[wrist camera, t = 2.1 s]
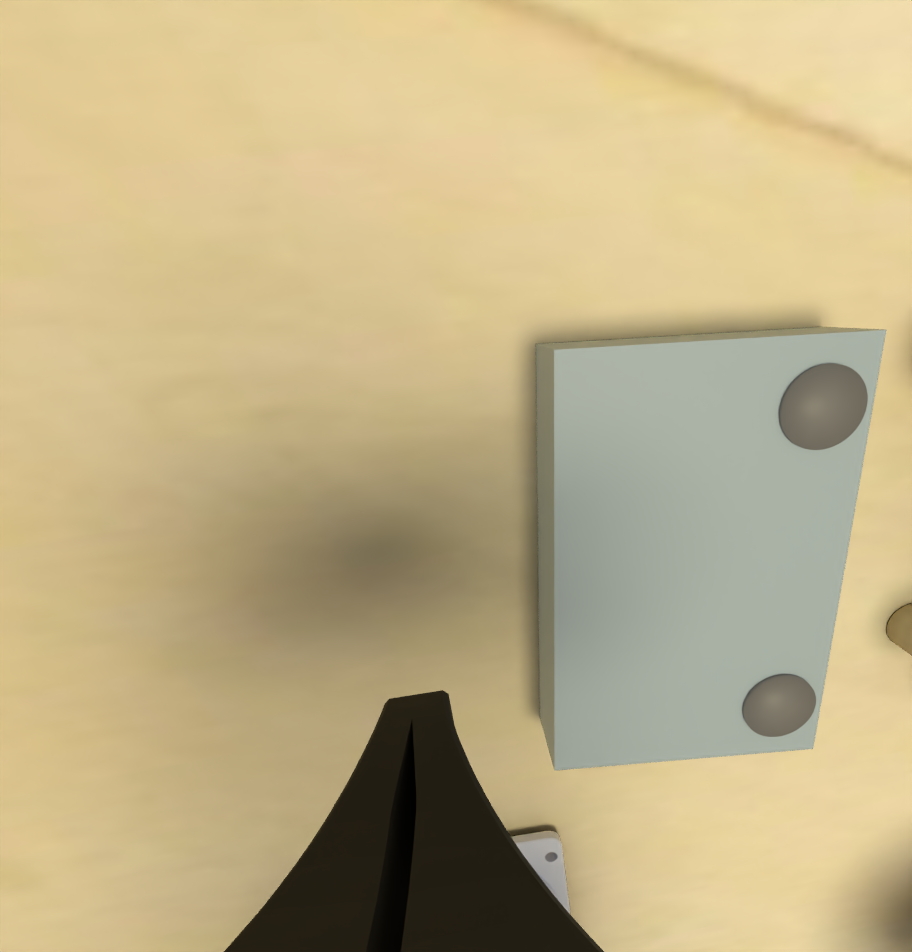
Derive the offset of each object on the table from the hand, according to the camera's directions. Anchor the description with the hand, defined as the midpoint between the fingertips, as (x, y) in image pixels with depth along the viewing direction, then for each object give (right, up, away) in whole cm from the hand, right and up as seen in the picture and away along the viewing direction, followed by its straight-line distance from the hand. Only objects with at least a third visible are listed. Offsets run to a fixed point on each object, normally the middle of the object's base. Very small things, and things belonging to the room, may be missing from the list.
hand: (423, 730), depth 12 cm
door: (+8, +4, +7) cm, 11 cm away
